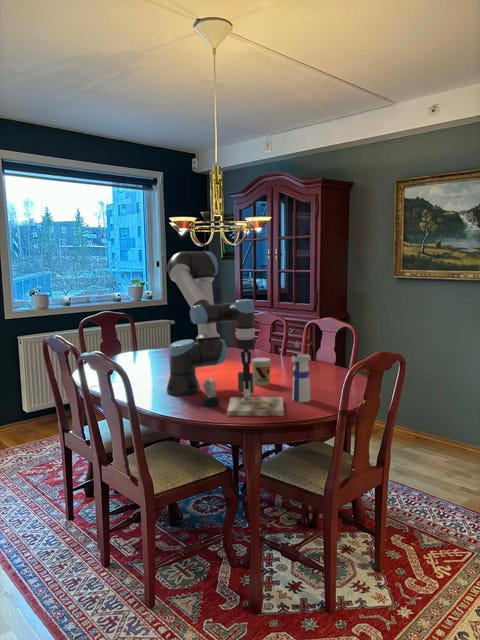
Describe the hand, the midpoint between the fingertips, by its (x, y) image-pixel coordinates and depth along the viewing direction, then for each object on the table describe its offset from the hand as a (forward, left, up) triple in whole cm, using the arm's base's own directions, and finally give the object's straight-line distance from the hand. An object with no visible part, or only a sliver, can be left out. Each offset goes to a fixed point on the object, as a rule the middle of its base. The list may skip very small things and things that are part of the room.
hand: (246, 394), depth 197 cm
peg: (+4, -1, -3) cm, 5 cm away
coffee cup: (+6, +37, -6) cm, 38 cm away
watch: (-15, +4, -6) cm, 17 cm away
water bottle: (+23, +11, -6) cm, 26 cm away
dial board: (+4, -1, -5) cm, 7 cm away
